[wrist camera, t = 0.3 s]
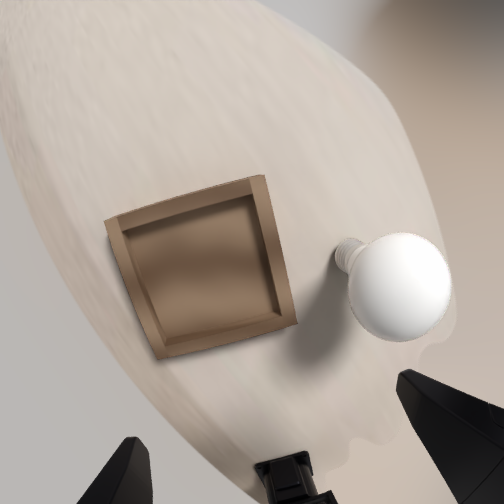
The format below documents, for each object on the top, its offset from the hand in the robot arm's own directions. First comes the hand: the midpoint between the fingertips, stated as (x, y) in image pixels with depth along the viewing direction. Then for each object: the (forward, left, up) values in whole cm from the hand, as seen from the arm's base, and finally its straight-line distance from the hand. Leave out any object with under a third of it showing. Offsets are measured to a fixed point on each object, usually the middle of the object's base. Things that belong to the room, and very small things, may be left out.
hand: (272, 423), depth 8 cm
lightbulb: (-1, -9, -15) cm, 18 cm away
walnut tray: (+1, +2, -15) cm, 15 cm away
